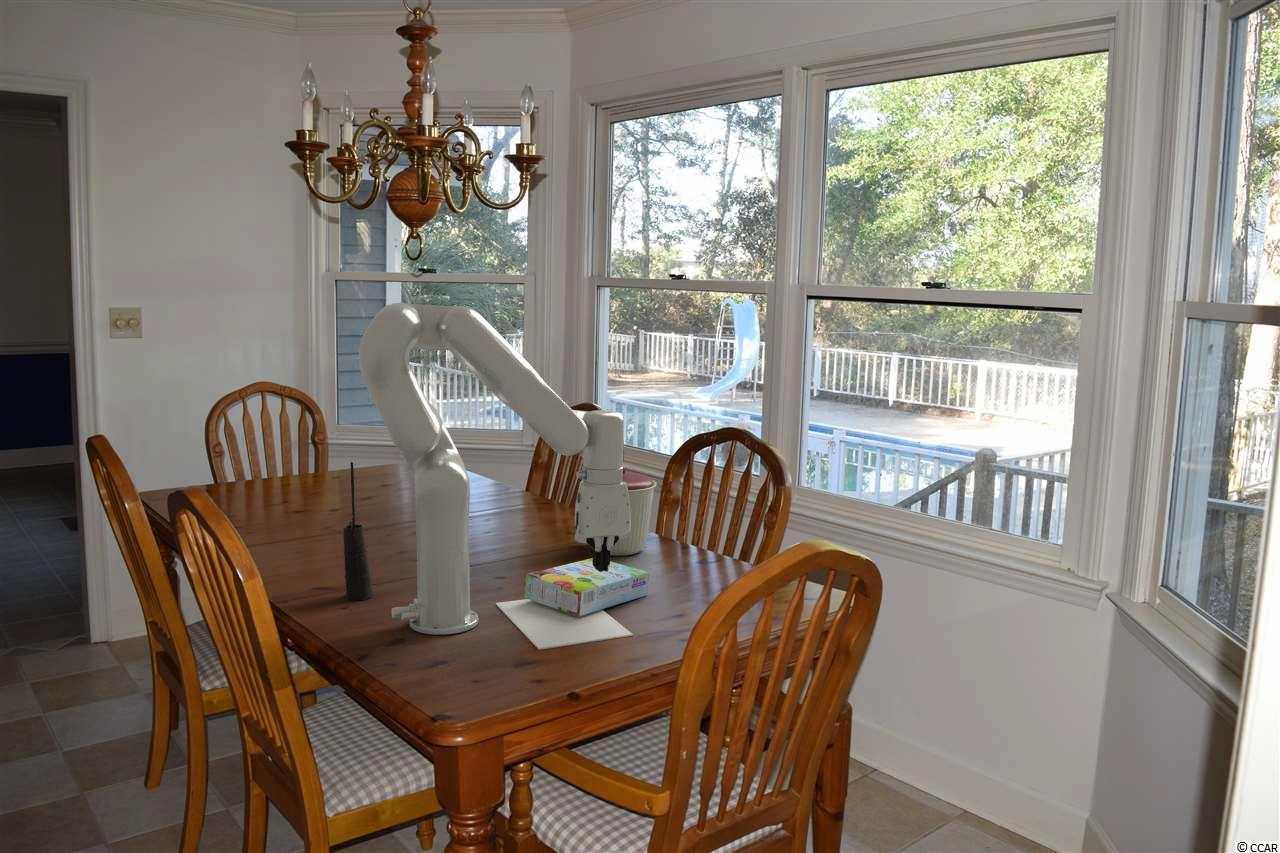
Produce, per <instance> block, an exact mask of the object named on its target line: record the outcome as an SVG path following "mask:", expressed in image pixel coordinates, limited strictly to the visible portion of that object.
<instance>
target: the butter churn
mask: <svg viewBox="0 0 1280 853" xmlns="http://www.w3.org/2000/svg"><path fill="white" fill-rule="evenodd" d="M349 463H350V481H351V482H350V486H351V511H352V512H351V516H352V517H351V521H350V522H349V524H347V525H345V526H343V551H344V552H343V555H344V570H345V575H344V578H345V594H346V596H345V598H346V599H347V600H348V601H355V602H357V601H366V600H368V599H371V598H372V597H373V596H374V595H373V584H372V583H373V582H372V578H371V576H372V575H371V570H370V565H369V559H368V558H369V557H368V556H369V555H368V550H367V546H366V540H365V539H366V538H365V532H364V526H363V524H357V523H356V509H355V505H356V504H355V478H354V477H355V473H354V472H355V471H354V462H353V461H351V462H349Z"/></svg>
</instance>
